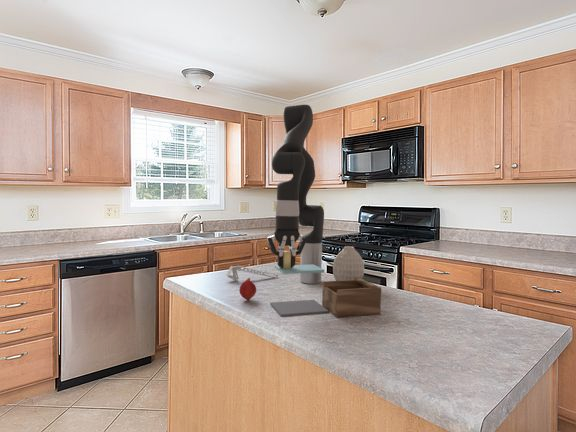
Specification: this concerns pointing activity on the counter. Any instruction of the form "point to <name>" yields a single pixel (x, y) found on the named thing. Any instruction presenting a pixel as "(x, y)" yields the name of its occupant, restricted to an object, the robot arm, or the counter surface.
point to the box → (351, 298)
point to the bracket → (235, 268)
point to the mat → (298, 307)
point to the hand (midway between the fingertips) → (286, 267)
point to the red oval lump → (247, 289)
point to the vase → (348, 265)
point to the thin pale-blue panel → (296, 266)
